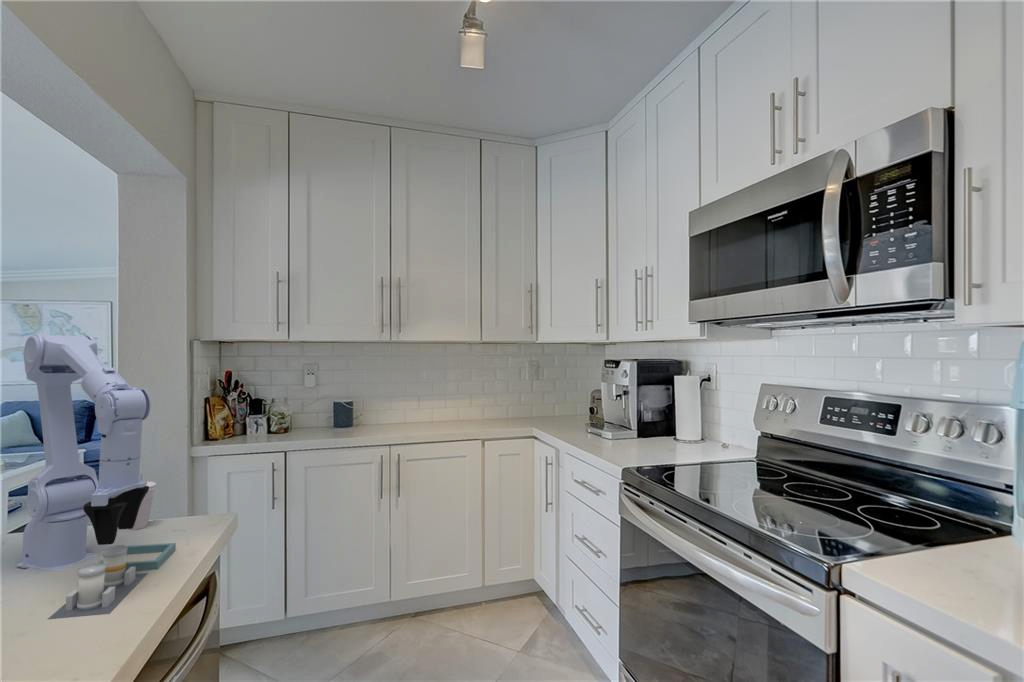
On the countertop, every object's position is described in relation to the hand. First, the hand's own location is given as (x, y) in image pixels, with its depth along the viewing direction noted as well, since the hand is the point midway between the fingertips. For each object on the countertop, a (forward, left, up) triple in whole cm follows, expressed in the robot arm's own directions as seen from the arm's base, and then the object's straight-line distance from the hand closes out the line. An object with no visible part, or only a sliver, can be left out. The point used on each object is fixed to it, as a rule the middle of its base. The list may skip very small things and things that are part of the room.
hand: (116, 535), depth 90 cm
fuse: (+4, -7, -8) cm, 11 cm away
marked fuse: (0, 0, -8) cm, 8 cm away
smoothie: (-22, +26, -9) cm, 35 cm away
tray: (-5, +9, -9) cm, 13 cm away
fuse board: (+2, -3, -9) cm, 10 cm away
